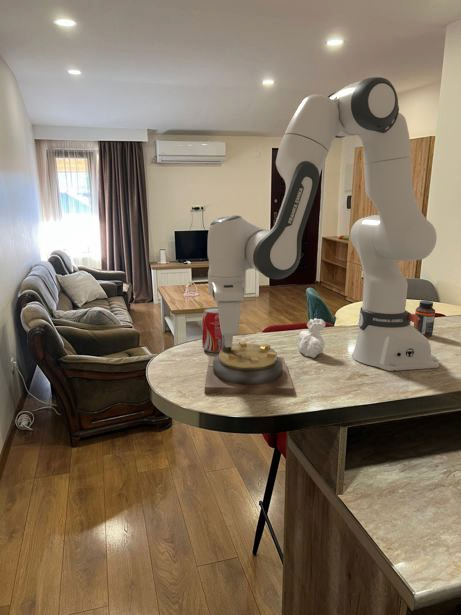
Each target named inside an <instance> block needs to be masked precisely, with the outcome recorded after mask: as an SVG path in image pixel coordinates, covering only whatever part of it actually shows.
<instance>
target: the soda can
mask: <svg viewBox="0 0 461 615" xmlns="http://www.w3.org/2000/svg"><path fill="white" fill-rule="evenodd" d="M201 317H202V318H201V345H202V348H203V350H205V351H206V352H209V353H219V352H220V350H221V349H222V333H221V328H220V321H219V313H218V307H208V308H206V307H205V309H204V311H203V313H202V316H201Z"/></svg>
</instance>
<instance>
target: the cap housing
mask: <svg viewBox="0 0 461 615" xmlns="http://www.w3.org/2000/svg"><path fill="white" fill-rule="evenodd" d="M205 376H206V377H205V382H204V394H219V395H220V394H221V395H222V394H225V395H226V394H230V395H294V394H295V393H294V392H295V390H294V389H295V387H294V385H293V381H292V379H291V376H290V374H289V371H288V367H287V365H286V361H285V357H282V356H280V357H278V356H277V361H276V365H275V366H273V367H272V368H269V369H266V370H261V371H238V370H233V369H229V368H227V367H225V366H223V365H222V364H221V363H220V362H219V354H218V355H217V356H208V361H207V369H206V375H205Z"/></svg>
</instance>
